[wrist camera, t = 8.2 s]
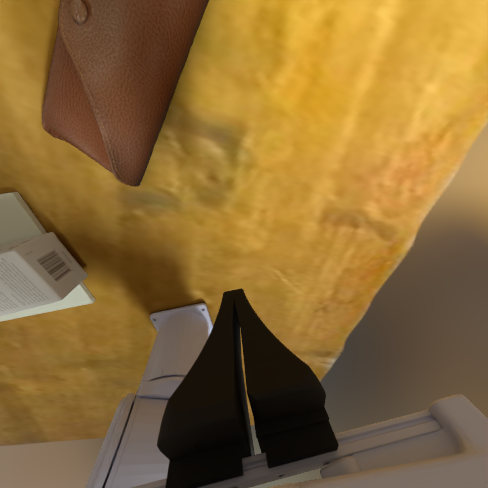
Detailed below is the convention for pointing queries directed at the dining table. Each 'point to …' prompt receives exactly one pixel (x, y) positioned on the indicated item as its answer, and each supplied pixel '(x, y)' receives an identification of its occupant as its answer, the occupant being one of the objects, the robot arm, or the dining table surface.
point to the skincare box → (36, 273)
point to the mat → (24, 226)
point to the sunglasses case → (117, 77)
